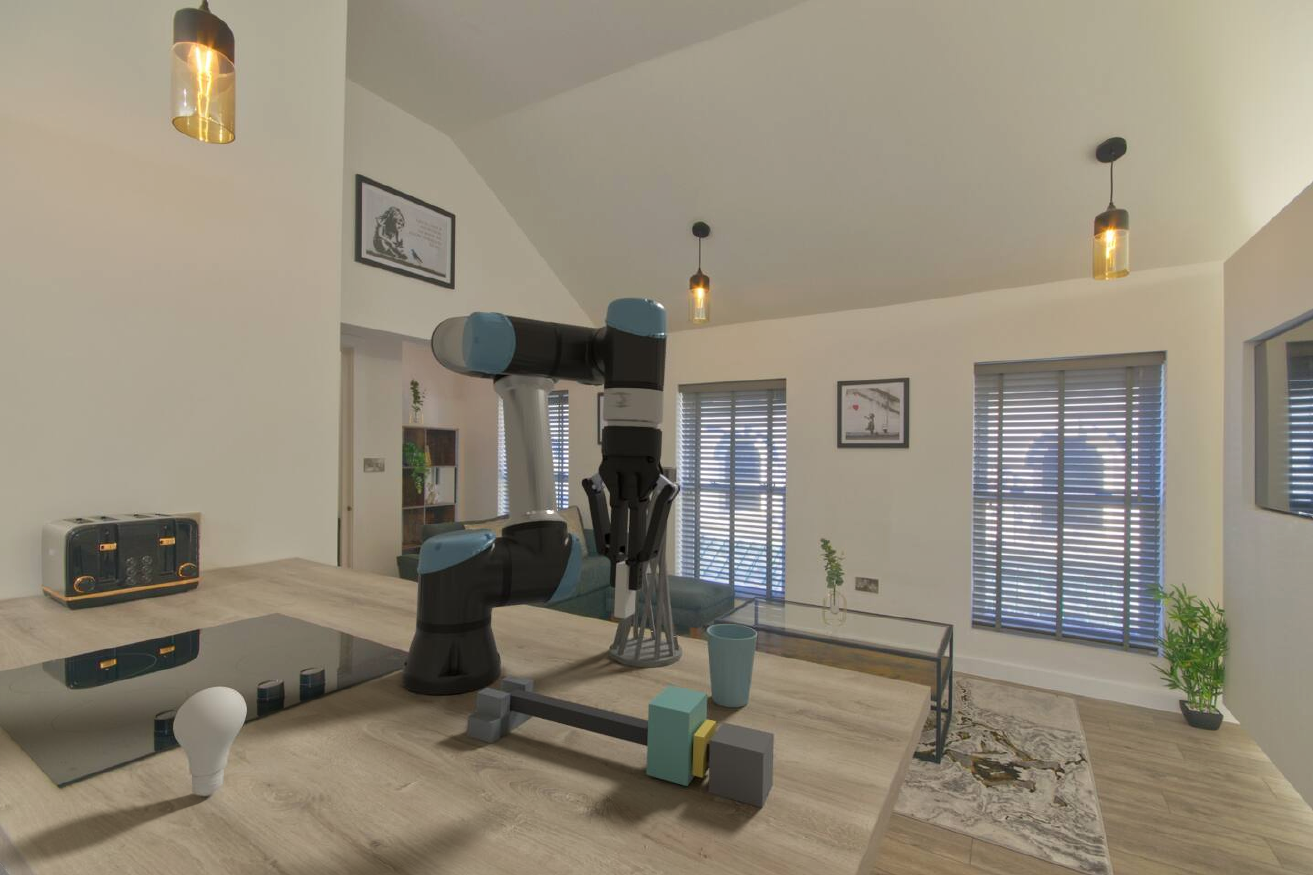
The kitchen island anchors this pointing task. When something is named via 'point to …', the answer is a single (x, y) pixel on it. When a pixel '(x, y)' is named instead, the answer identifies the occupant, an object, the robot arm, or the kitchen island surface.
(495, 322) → the robot arm
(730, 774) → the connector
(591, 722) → the dark grey long bar
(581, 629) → the kitchen island surface
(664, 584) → the grey lattice tower
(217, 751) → the lightbulb
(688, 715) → the sleeve
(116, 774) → the kitchen island surface
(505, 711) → the grey stepped brick
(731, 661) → the cup
